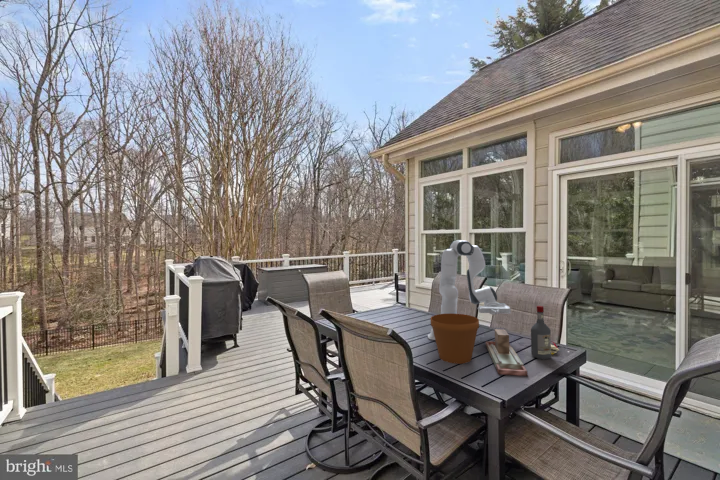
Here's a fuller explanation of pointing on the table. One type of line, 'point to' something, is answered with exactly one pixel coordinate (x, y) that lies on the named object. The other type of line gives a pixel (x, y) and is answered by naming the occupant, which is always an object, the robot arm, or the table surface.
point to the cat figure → (554, 348)
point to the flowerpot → (455, 336)
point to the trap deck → (506, 361)
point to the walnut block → (502, 341)
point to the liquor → (540, 337)
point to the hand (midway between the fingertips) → (496, 312)
